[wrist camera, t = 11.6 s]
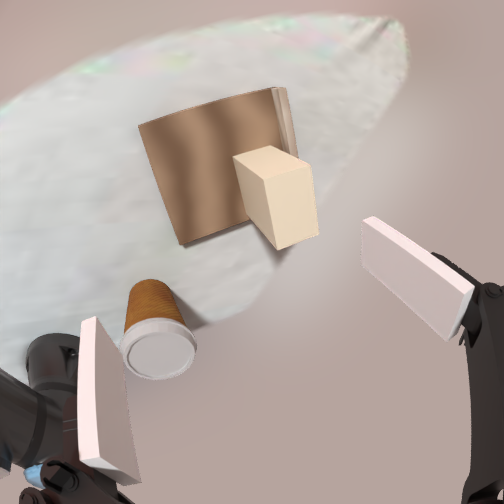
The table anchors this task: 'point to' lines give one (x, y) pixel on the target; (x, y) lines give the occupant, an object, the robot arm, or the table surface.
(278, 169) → the carton
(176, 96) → the table surface
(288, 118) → the shelf board
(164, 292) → the disposable coffee cup
